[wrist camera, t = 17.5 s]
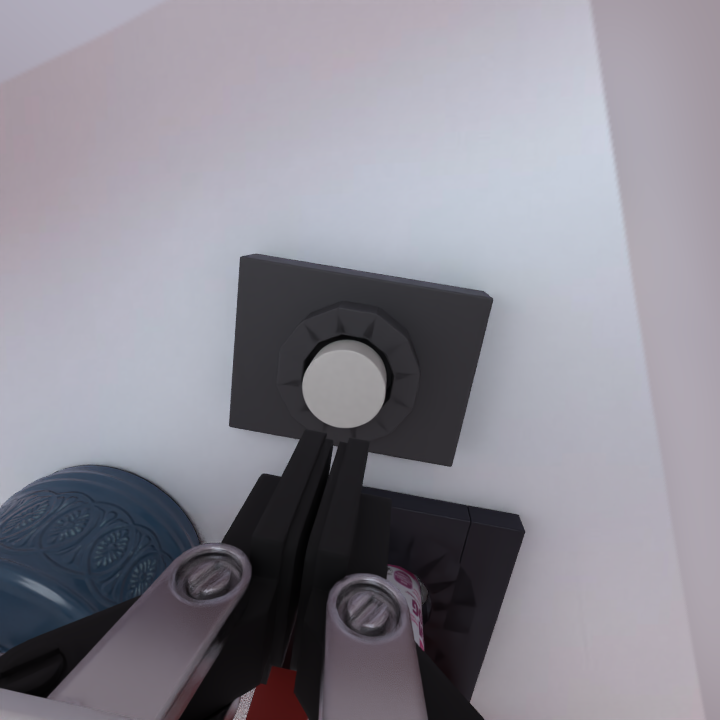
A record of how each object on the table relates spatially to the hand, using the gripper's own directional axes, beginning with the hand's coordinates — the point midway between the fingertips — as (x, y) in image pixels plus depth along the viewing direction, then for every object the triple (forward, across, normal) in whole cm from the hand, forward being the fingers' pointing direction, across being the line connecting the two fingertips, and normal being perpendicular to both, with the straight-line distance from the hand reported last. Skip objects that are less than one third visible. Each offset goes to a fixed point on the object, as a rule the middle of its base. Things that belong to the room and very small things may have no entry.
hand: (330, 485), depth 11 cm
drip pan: (+13, -3, +16) cm, 21 cm away
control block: (+13, +1, +1) cm, 13 cm away
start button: (+9, +1, +1) cm, 9 cm away
